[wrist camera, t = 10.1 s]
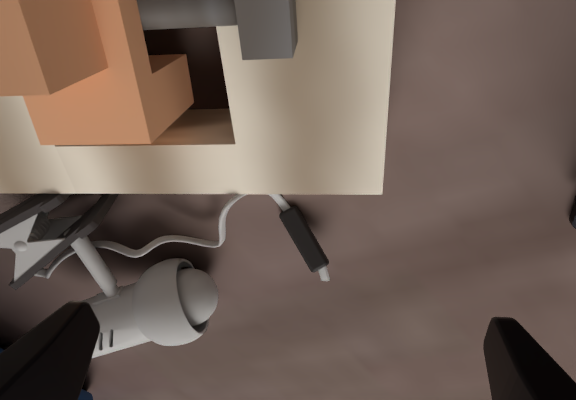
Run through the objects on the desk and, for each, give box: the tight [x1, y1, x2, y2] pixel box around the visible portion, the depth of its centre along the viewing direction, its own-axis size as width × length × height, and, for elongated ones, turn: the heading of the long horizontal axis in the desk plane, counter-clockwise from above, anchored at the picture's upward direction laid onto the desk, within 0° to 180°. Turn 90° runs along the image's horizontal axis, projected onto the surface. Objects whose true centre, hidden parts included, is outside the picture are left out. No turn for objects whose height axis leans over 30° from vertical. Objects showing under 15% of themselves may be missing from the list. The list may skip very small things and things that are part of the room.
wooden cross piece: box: [0, 0, 194, 145], centre depth 13 cm, size 4×8×8 cm, turn 4°
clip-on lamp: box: [0, 193, 330, 358], centre depth 24 cm, size 12×6×18 cm
